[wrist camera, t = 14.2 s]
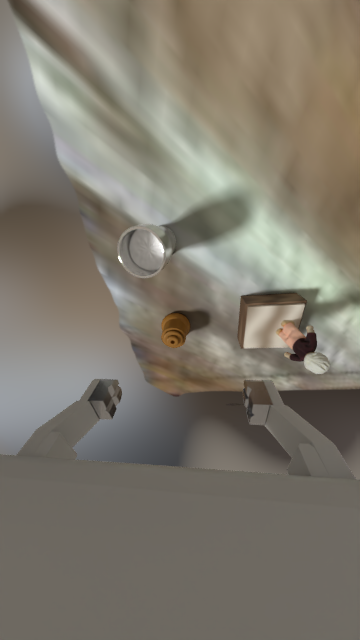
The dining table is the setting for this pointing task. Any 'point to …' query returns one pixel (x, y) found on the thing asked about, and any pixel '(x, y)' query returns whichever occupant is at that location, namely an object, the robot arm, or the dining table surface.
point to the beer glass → (146, 249)
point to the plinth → (267, 318)
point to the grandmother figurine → (303, 347)
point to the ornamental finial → (175, 330)
